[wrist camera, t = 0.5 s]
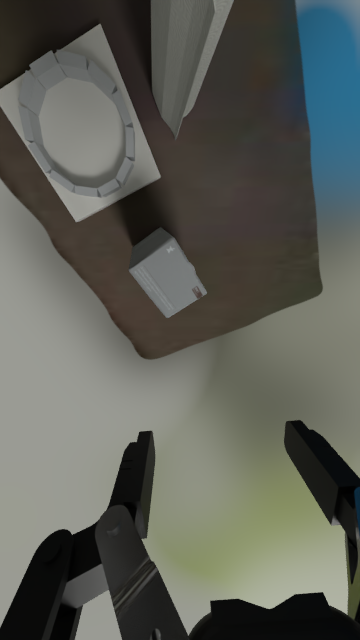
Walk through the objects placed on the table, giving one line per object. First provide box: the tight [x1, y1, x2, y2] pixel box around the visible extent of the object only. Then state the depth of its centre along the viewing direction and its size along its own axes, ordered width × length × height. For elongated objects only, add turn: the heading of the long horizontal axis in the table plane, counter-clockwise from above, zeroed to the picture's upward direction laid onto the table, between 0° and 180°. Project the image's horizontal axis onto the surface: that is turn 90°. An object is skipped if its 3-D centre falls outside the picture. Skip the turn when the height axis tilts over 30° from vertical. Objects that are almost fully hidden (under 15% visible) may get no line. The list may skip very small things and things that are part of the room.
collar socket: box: [0, 24, 161, 222], centre depth 25 cm, size 15×15×4 cm
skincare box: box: [129, 227, 207, 318], centre depth 29 cm, size 8×7×16 cm
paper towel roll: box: [151, 0, 234, 140], centre depth 17 cm, size 7×6×21 cm
